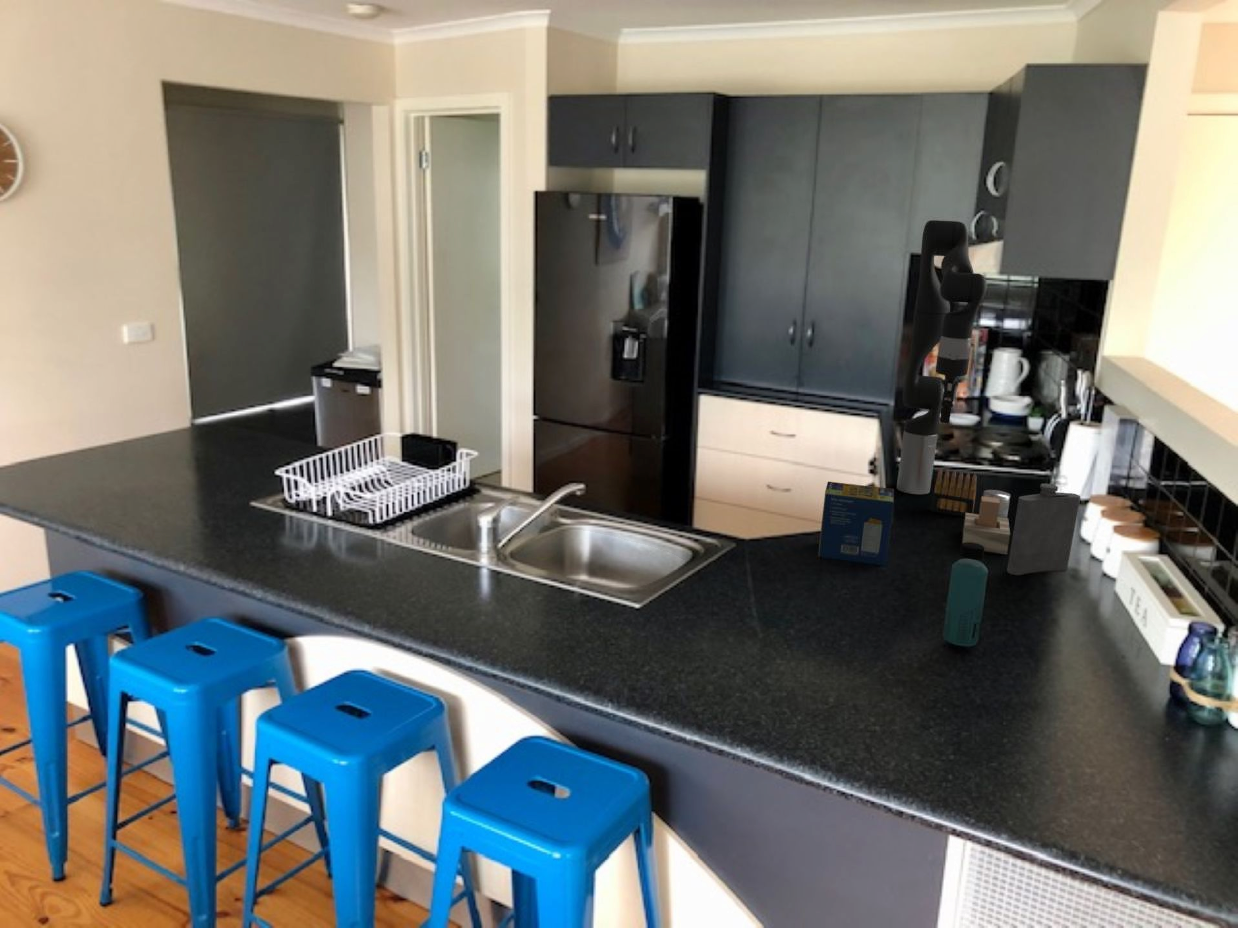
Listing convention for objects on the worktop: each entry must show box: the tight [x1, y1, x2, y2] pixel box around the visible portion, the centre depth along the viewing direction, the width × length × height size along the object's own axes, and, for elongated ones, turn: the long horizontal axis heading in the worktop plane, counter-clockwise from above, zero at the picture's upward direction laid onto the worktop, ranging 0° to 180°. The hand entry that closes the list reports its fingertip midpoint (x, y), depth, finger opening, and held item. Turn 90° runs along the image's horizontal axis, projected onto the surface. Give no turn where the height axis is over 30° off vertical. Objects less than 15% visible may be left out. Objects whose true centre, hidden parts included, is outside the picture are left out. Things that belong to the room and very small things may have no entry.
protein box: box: [818, 481, 895, 567], centre depth 220 cm, size 10×15×16 cm
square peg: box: [977, 495, 1000, 528], centre depth 232 cm, size 4×4×10 cm
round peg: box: [982, 489, 1011, 519], centre depth 244 cm, size 6×6×9 cm
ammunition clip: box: [930, 467, 977, 518], centre depth 253 cm, size 11×2×12 cm, turn 61°
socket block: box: [962, 513, 1011, 555], centre depth 233 cm, size 13×10×5 cm
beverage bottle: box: [942, 542, 989, 647], centre depth 174 cm, size 6×7×20 cm
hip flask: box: [1006, 483, 1081, 576], centre depth 214 cm, size 16×4×20 cm, turn 109°
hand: (944, 418), depth 240 cm, fingers open, 8 cm apart
